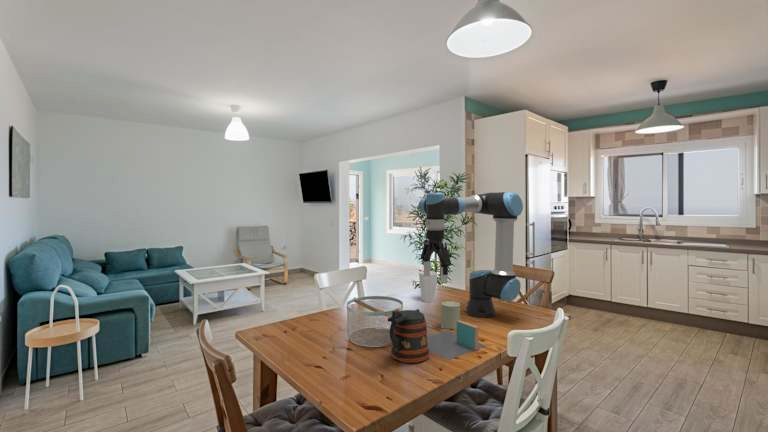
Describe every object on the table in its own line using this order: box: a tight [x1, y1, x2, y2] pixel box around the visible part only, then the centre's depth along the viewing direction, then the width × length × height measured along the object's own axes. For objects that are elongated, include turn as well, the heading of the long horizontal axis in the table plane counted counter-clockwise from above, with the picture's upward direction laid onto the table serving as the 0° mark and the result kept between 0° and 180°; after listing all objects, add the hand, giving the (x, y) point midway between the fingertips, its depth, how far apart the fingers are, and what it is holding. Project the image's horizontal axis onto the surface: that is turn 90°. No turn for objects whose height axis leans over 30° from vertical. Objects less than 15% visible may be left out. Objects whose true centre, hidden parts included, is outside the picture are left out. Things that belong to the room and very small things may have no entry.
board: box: [427, 329, 487, 361], centre depth 149 cm, size 22×22×1 cm
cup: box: [418, 270, 438, 303], centre depth 218 cm, size 11×10×17 cm
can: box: [440, 300, 461, 330], centre depth 171 cm, size 9×9×12 cm
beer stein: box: [387, 308, 430, 364], centre depth 138 cm, size 19×15×20 cm
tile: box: [456, 319, 479, 351], centre depth 147 cm, size 2×10×9 cm, turn 35°
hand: (435, 279), depth 152 cm, fingers open, 13 cm apart
